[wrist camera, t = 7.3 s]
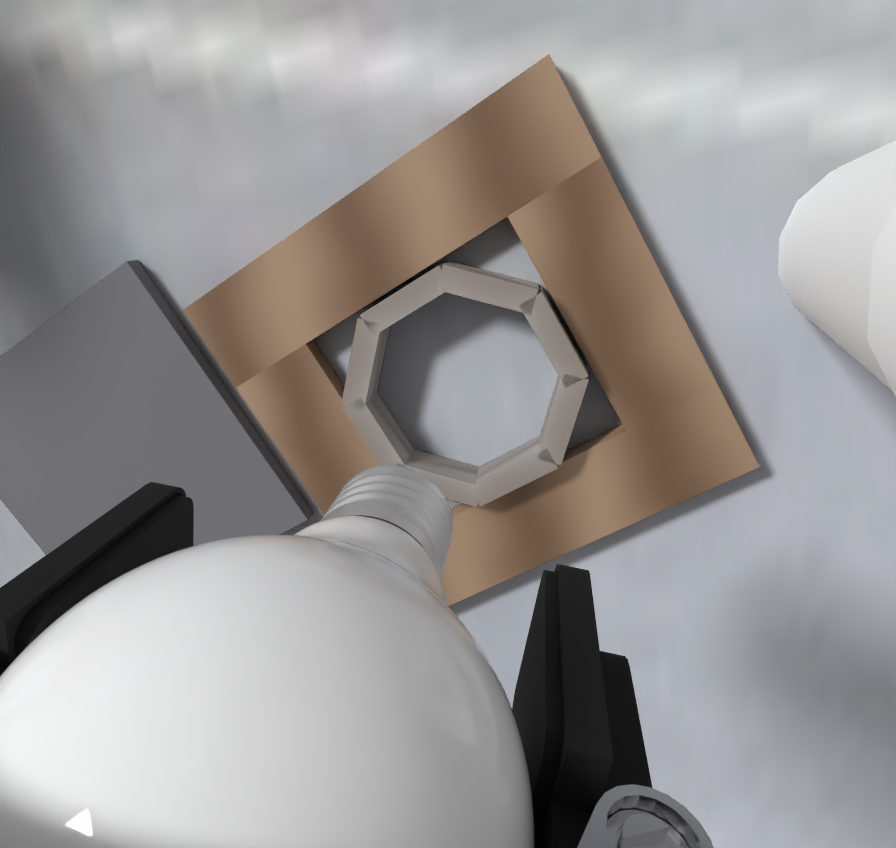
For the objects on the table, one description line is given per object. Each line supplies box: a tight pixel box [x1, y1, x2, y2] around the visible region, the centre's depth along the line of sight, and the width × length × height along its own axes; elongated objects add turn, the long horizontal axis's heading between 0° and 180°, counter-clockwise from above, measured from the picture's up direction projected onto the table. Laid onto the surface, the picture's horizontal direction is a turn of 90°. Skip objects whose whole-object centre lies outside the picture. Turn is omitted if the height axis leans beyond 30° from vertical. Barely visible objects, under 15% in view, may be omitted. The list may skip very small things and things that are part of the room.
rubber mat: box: [0, 260, 313, 555], centre depth 31 cm, size 14×14×1 cm
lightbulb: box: [0, 465, 535, 848], centre depth 9 cm, size 6×6×11 cm
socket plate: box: [183, 55, 760, 606], centre depth 27 cm, size 18×18×2 cm
